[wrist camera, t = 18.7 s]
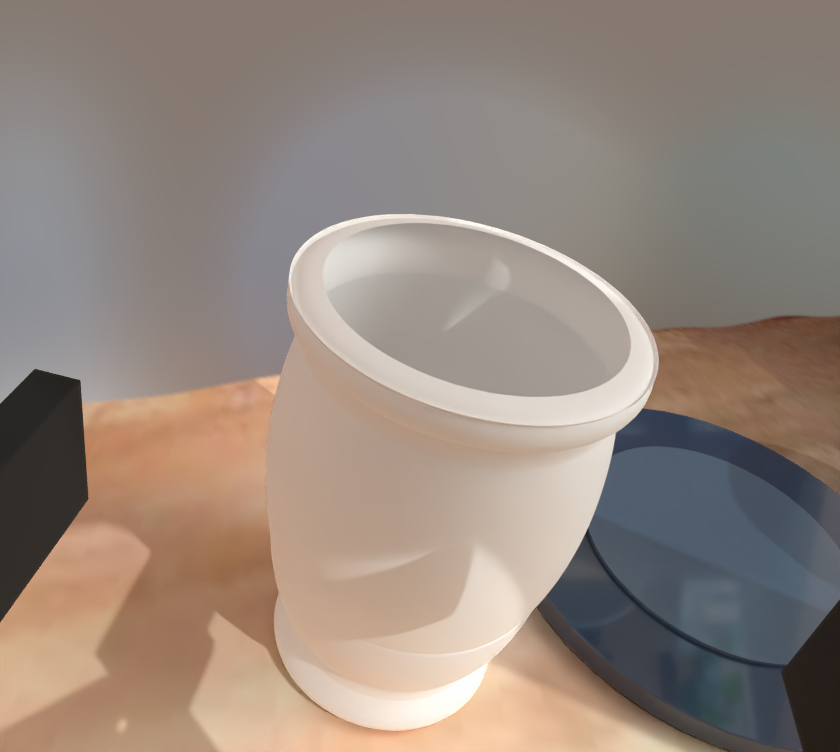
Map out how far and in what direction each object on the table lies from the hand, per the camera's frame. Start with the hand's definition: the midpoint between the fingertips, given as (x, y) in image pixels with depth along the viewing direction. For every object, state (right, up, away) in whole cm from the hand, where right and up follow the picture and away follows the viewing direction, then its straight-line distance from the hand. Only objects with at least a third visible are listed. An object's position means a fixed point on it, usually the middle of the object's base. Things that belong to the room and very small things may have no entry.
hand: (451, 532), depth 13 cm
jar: (-2, -7, +17) cm, 18 cm away
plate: (+13, -6, +24) cm, 28 cm away
